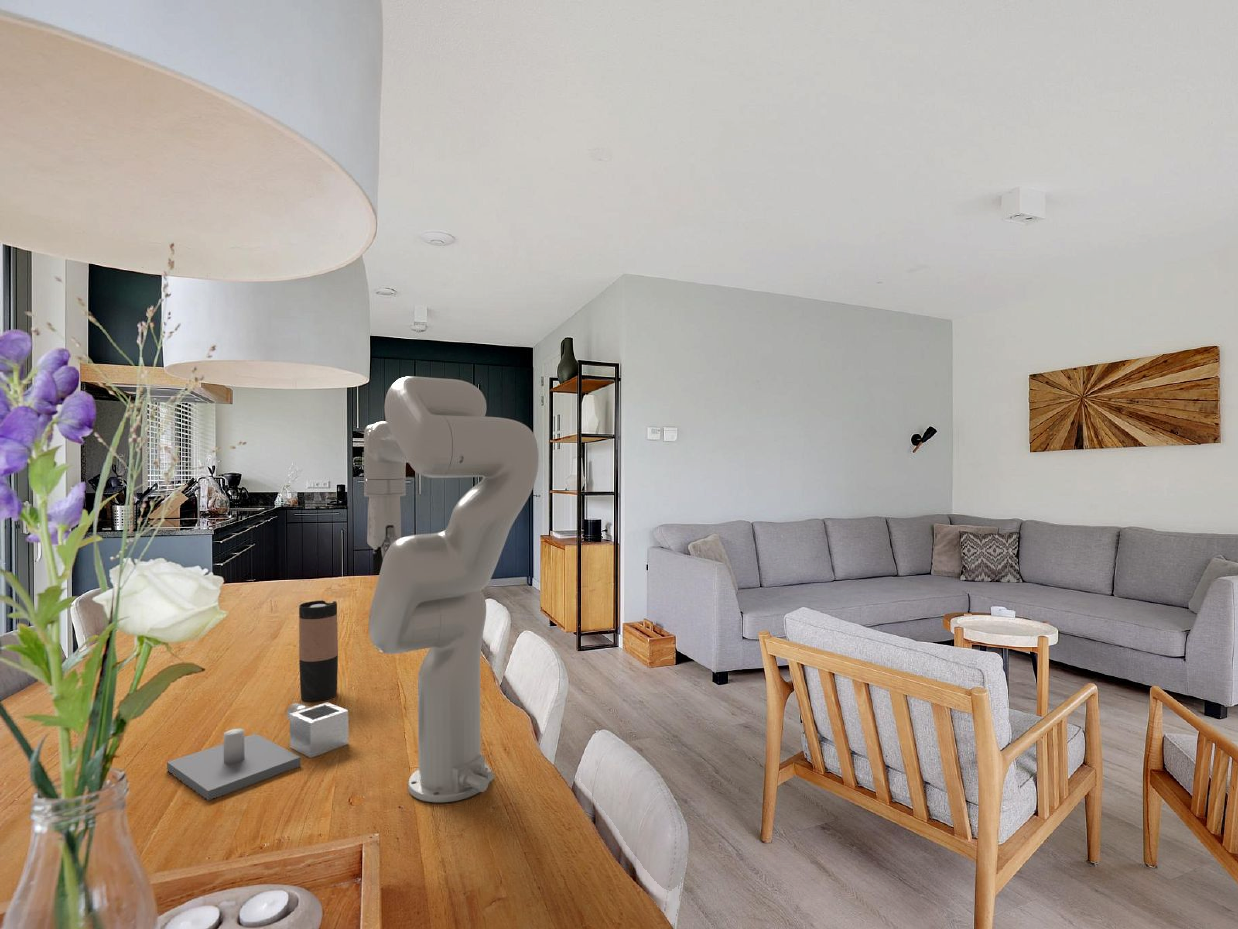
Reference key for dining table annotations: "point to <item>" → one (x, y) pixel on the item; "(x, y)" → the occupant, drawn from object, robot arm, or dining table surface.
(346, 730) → the grey hollow block
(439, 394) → the robot arm
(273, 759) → the plate
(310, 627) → the travel mug
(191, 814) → the dining table surface
